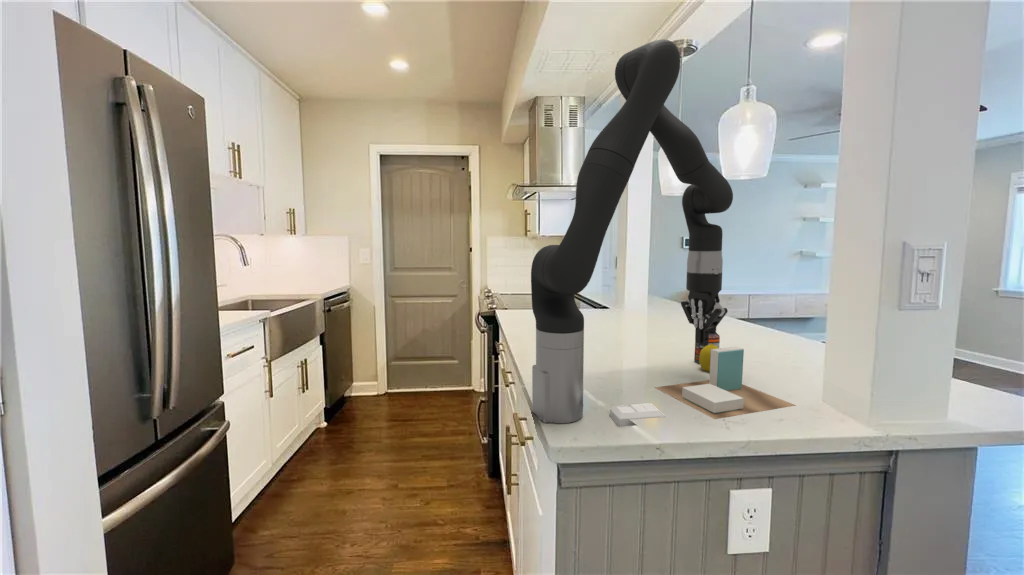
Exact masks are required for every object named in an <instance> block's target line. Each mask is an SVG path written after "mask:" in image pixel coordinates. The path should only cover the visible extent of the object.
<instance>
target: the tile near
mask: <svg viewBox="0 0 1024 575" xmlns="http://www.w3.org/2000/svg"><path fill="white" fill-rule="evenodd" d="M682 397H683V398H684V399H686V400H688V401H690V402H692V403H694V404H696V405H698V406H700V407H702V408H704V409H706V410H708V411H710V412H712V413H714V414H715V413H721V412H727V411H733V410H740V409H742V408H743V404H744V398H742V397H740V396H737V395H735V394H733V393H730V392H728V391H726V390H723V389H721V388H719V387H716V386H714V385H712V384H703V385H696V386H689V387H682Z"/></svg>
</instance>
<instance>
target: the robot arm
mask: <svg viewBox="0 0 1024 575" xmlns="http://www.w3.org/2000/svg"><path fill="white" fill-rule="evenodd" d="M680 69H681V55H680V51H679V49H678V46H677V45H676V44H675V43H674V42H673V41H671V40H669V39H665V38H664V39H663V38H661V39H656V40H653V41H651V42H648V43H645V44H643V45H641V46H639V47H637V48H634V49H632V50H630V51H627V52H626V53H624V54H623V55H622V56H621V57H620V58H618V61H617V62H616V64H615V69H614V80H615V82H616V86H617V89H618V91H619V92H620V93H621V95H622V97H623V98H624V100H625V102H624V104H623V105H622V107H620V109H619V110H618V111H617V112H616V114H615V115H614V116H613V118H611V119H610V120H609V122H608V123H607V124H606V126H604V128H602V130H601V131H600V132H599V134H598V135H597V136H596V137H595V139H594V140H593V141H592V143H591V145H590V147H589V149H588V151H587V154H586V155H585V158H584V160H583V162H582V164H581V167H580V169H579V172H578V175H577V179H576V186H575V206H574V212H573V215H572V219H571V221H570V224H569V226H568V228H567V229H566V233H565V234H564V236H563V238H562V239H561V241H560V243H559V244H549V245H546V246H544V247H542V248H540V249H539V250H538V251H537V252H536V254H535V255H534V258H533V259H532V263H531V269H530V270H531V272H530V284H531V285H530V288H531V289H530V290H531V308H532V313H533V316H534V319H535V320H534V321H535V364H533V365H532V366H531V367H532V368H531V369H532V376H531V377H532V382H531V383H532V386H531V389H532V393H531V394H532V397H531V398H532V400H531V401H532V404H531V405H532V412H533V413H534V415H536V416H537V418H538V419H539V420H540V421H542V423H555V424H569V423H572V422H573V423H574V422H576V421H578V420H580V419H582V418H583V417H584V416H583V415H584V354H585V353H584V352H585V350H584V349H585V348H584V347H585V346H584V344H585V318H584V314H583V313H582V311H581V310H580V309H579V307H578V305H577V303H576V300H575V298H576V297H575V295H578V294H580V293H581V292H582V291H583V290H584V289H585V288H586V287H587V286H588V284H589V282H590V281H591V279H592V277H593V274H594V271H595V269H596V266H597V262H598V258H599V256H600V251H601V250H602V249H601V248H602V245H603V244H604V239H605V236H606V234H607V232H608V228H609V226H610V224H611V222H612V219H613V217H614V214H615V212H616V209H617V207H618V205H619V203H620V199H621V198H622V195H623V194H624V191H625V190H626V187H627V185H628V182H629V180H630V178H631V175H632V174H633V171H634V168H635V166H636V164H637V161H638V158H639V155H640V153H641V151H642V149H643V147H644V145H645V143H646V141H647V138H648V136H649V134H650V133H651V135H652V136H653V138H654V139H655V140H656V141H657V143H658V145H659V147H661V150H662V151H663V153H664V155H665V157H666V158H667V161H668V162H669V164H670V166H671V169H672V170H673V172H674V174H675V176H676V177H677V180H679V182H681V184H682V183H683V184H686V185H688V186H687V187H686V189H685V190H684V191H683V193H682V198H681V208H682V210H683V214H684V217H685V218H684V219H685V222H686V226H687V230H688V254H687V259H686V290H687V291H688V292H689V293H688V295H687V299H686V300H684V301H681V302H680V305H681V308H682V310H683V312H684V315H685V317H686V319H687V321H688V323H689V324H691V325H693V327H694V328H695V331H694V332H695V334H694V335H695V339H694V340H696V343H697V344H700V345H705V344H707V343H708V341H709V329H710V328H713V327H716V328H717V326H718V325H719V324H720V323H721V321H722V320H723V319H724V317H725V316H726V315H727V314H728V309H727V307H722V305H721V304H720V303H721V302H720V301H721V300H720V297H719V293H720V292H721V291H722V286H723V264H724V263H723V262H724V261H723V229H722V227H721V226H720V225H717V224H714V223H710V222H709V221H708V220H707V218H706V217H707V216H706V214H720V213H724V212H726V211H727V210H729V209H730V207H731V206H732V204H733V200H734V193H733V189H732V186H731V185H730V183H729V182H728V180H727V179H726V178H725V177H724V175H723V174H722V172H720V171H719V170H718V169H717V168H716V167H715V166H714V165H713V164H712V163H711V161H710V160H709V158H708V156H707V153H706V152H705V149H704V147H703V144H702V143H701V141H700V139H699V138H698V136H697V135H696V134H695V133H694V131H693V130H692V129H691V128H690V127H689V126H688V125H687V124H685V123H684V122H683V121H682V120H680V119H679V118H678V117H677V116H676V115H674V113H672V112H671V111H670V110H669V109H668V108H667V107H666V105H665V103H666V101H667V100H668V98H669V96H670V94H671V93H672V91H673V89H674V87H675V85H676V82H677V80H678V77H679V74H680V71H681V70H680Z"/></svg>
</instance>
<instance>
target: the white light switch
mask: <svg viewBox="0 0 1024 575" xmlns="http://www.w3.org/2000/svg"><path fill="white" fill-rule="evenodd" d="M609 417H610V418H611V419H612V420H613V421H614V422H615V423H616V425H618V427H631V426H637V423H635V422H633V421H632V420H641V419H642V420H643V419H644V420H645V419H656V418H657V419H658V418H666V415H665V414H664V413H663V412H662V411H661V410H660V409H659V408H657V407H656V406H655V405H654V404H653V403H651V402H649V403H648V402H647V403H634V404H622V405H621V404H619V405H614V406H612V407H610V408H609Z"/></svg>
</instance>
